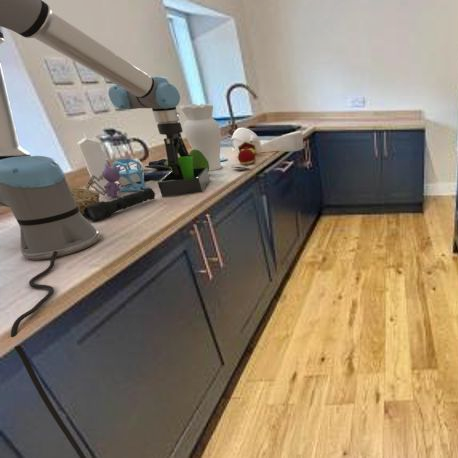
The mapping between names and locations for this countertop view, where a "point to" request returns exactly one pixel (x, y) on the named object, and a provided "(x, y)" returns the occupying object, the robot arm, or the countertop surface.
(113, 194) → the figurine
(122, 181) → the ink box
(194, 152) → the fruit
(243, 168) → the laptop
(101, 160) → the milk
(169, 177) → the dark grey open box
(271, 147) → the shoe sole
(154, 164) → the race car
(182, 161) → the cup
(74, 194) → the sponge
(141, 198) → the flashlight
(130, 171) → the chair
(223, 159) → the toy
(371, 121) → the countertop surface
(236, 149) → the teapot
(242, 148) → the figurine
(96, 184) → the maze
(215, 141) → the vase
